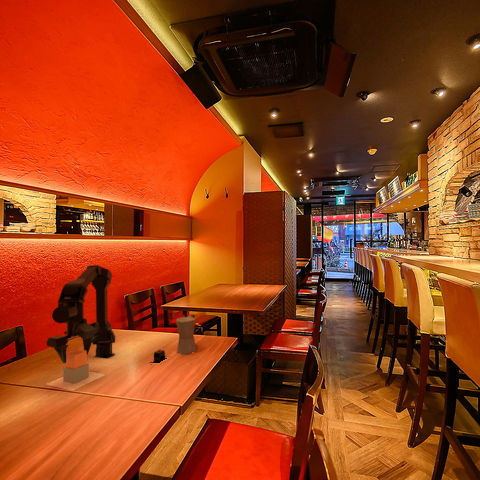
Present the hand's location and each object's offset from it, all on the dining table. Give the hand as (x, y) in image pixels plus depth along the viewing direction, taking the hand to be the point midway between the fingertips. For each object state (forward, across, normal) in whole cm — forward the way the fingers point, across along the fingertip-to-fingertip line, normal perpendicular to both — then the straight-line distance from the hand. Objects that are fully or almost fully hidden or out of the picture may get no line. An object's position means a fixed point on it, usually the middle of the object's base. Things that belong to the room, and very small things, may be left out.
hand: (75, 358), depth 115 cm
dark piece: (+10, +29, -16) cm, 34 cm away
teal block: (+8, 0, 0) cm, 8 cm away
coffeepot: (+9, +44, -20) cm, 49 cm away
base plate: (+9, 0, 0) cm, 9 cm away
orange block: (+3, 0, 0) cm, 3 cm away
